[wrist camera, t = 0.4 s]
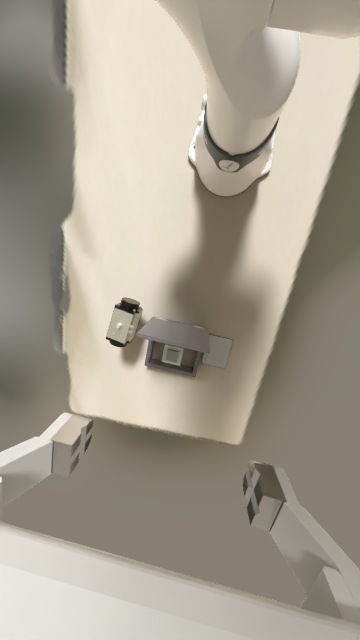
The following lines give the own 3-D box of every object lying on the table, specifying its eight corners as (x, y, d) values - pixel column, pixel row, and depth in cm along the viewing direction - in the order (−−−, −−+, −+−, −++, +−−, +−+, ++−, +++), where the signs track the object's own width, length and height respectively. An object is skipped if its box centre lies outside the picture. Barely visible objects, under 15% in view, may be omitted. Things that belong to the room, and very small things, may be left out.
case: (155, 313, 55) (136, 332, 39) (207, 325, 54) (210, 349, 38) (147, 360, 59) (127, 395, 43) (195, 371, 58) (193, 411, 42)
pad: (208, 334, 55) (208, 334, 55) (232, 339, 55) (233, 340, 54) (201, 362, 57) (201, 363, 57) (224, 367, 57) (224, 368, 57)
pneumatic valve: (121, 330, 57) (101, 345, 46) (132, 293, 54) (114, 300, 43) (138, 337, 57) (123, 354, 46) (151, 300, 54) (138, 309, 43)
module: (169, 335, 56) (164, 345, 49) (185, 339, 56) (183, 349, 49) (165, 350, 58) (161, 362, 50) (182, 354, 57) (179, 367, 50)
